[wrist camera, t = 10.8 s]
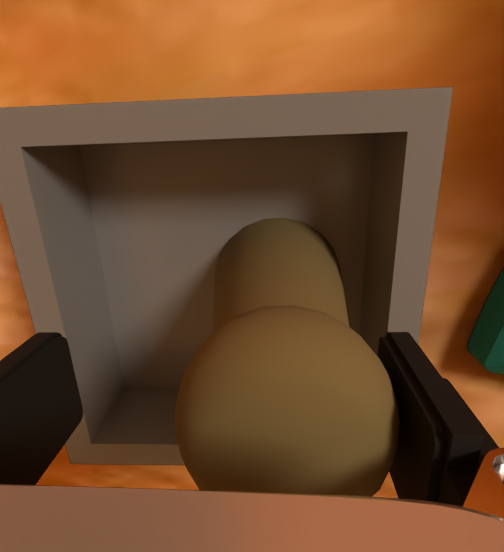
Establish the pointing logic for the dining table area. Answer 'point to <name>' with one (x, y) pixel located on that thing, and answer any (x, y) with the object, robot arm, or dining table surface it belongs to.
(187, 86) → the dining table surface
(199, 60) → the dining table surface
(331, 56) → the dining table surface
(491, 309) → the digital multimeter
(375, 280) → the gray square tray
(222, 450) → the tan piece
